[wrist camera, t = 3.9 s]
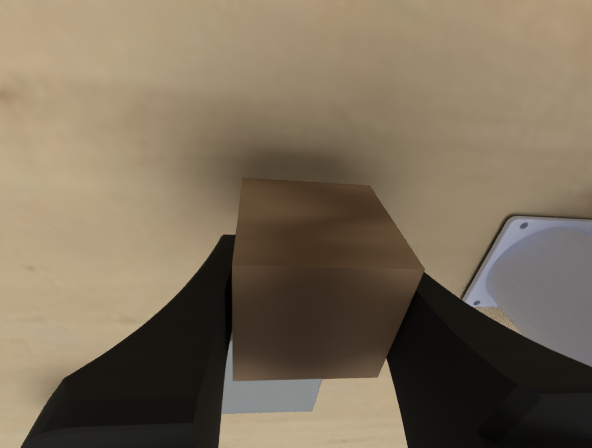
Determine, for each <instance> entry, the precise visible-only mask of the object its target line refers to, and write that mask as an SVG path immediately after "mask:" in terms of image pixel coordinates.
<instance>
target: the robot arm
mask: <svg viewBox="0 0 592 448" xmlns="http://www.w3.org/2000/svg"><path fill="white" fill-rule="evenodd" d="M521 224H522V225H521ZM235 237H236V235H223V236H221V238H220V240H219V241H218V243H217V245H216V246H215V248H214V250H213V251H212V253H211V254H210V255H209V257H208V258H207V260H206V261H205V262H204V264H203V265H202V266H201V268H200V269H199V270H198V271H197V273H196V274H195V275H194V276H193V277H192V278H191V280H190V281H189V282H188V283H187V284H186V285H185V286H184V288H183V289H182V290H181V291H180V292H179V293H178V294H177V295H176V296H175V297H174V298H173V299H172V300H171V301H170V302H169V303H168V304H167V305H166V306H165V307H163V308H162V309H161V310H160V311H159V312H158V313H157V314H155V315H154V316H153V317H152V318H151V319H150V320H149V321H147V322H146V323H145V324H144V325H143V326H141V327H140V328H139V329H137V330H136V331H135V332H133V333H132V334H131V335H129V336H128V337H127V338H125V339H124V340H123V341H121V342H120V343H118V344H117V345H116V346H114V347H113V348H112V349H110V350H109V351H107V352H106V353H104V354H103V355H101V356H100V357H98V358H96V359H95V360H93V361H92V362H90V363H88V364H87V365H85V366H84V367H82V368H80V369H79V370H77V371H76V372H74V373H72V374H71V375H69V376H67V377H65V378H64V379H63V380H62V382H61V383H60V385H59V386H58V388H57V389H56V390H55V392H54V393H53V394H52V396H51V397H50V399H49V400H48V402H47V403H46V405H45V406H44V408H43V410H42V411H41V413H40V415H39V416H38V418H37V420H36V422H35V423H34V425H33V427H32V429H31V430H30V432H29V434H28V436H27V437H26V439H25V441H24V442H23V444H22V446H21V448H218V445H219V433H220V422H221V412H222V401H223V390H224V380H225V370H226V362H227V356H228V350H229V345H230V340H231V335H232V261H233V253H234V245H235ZM473 307H499V308H500V309H501V310H502V311H503V313H504V314H505V315H506V316H507V317H508V319H509V320H510V321H511V322H512V323H513V325H514V326H515V327H516V328H517V330H518V331H519V332H520V333H521V334H522V335H520V334H518V333H517V332H515V331H513V330H511V329H509V328H507V327H505V326H504V325H502V324H500V323H498V322H496V321H495V320H493V319H491V318H489V317H488V316H486V315H484V314H483V313H481V312H479V311H478V310H476V309H475V308H473ZM386 359H387V362H388V365H389V368H390V372H391V376H392V380H393V384H394V387H395V391H396V396H397V400H398V404H399V408H400V412H401V417H402V421H403V426H404V431H405V436H406V440H407V445H408V448H592V220H586V219H567V218H548V217H528V216H513V217H511V218H510V219H508V220H507V222H506V223H505V225H504V227H503V229H502V230H501V232H500V234H499V236H498V237H497V239H496V241H495V243H494V245H493V246H492V248H491V250H490V252H489V253H488V255H487V257H486V259H485V260H484V262H483V264H482V266H481V267H480V269H479V271H478V273H477V274H476V276H475V278H474V280H473V281H472V283H471V285H470V287H469V288H468V290H467V292H466V294H465V295H464V297H463V299H462V300H461V299H459V298H458V297H457V296H455V295H454V294H452V293H451V292H450V291H448V290H447V289H446V288H444V287H443V286H442V285H440V284H439V283H438V282H436V281H435V280H434V279H432V278H431V277H430V276H429V275H427V274H426V273H425V272H424V273H423V275H422V277H421V280H420V282H419V284H418V286H417V289H416V291H415V293H414V295H413V298H412V300H411V302H410V305H409V307H408V309H407V311H406V314H405V316H404V318H403V321H402V323H401V325H400V327H399V330H398V332H397V334H396V336H395V339H394V341H393V343H392V346H391V348H390V350H389V352H388V355H387V357H386Z"/></svg>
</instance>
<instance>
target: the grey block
mask: <svg viewBox="0 0 592 448" xmlns="http://www.w3.org/2000/svg"><path fill="white" fill-rule="evenodd" d="M321 382H322V379H300V380H264V381H233V362H232V335H231V340H230V345H229V350H228V356H227V362H226V370H225V380H224V390H223V401H222V412H221V414H234V413H269V412H305V411H312V410H313V407H314V404H315V401H316V398H317V395H318V391H319V388H320V385H321Z"/></svg>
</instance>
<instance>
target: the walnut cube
mask: <svg viewBox="0 0 592 448" xmlns="http://www.w3.org/2000/svg"><path fill="white" fill-rule="evenodd" d="M424 270H425V269H424V267H423V266H422V264H421V263H420V261H419V260H418V258H417V257H416V255H415V254H414V252H413V251H412V249H411V248H410V246H409V245H408V243H407V242H406V240H405V238H404V237H403V235H402V234H401V232H400V231H399V229H398V228H397V226H396V225H395V223H394V222H393V220H392V219H391V217H390V216H389V214H388V213H387V211H386V210H385V208H384V207H383V205H382V204H381V202H380V201H379V199H378V197H377V196H376V194H375V193H374V191H373V190H372V188H371V187H370V186H366V185H349V184H332V183H316V182H299V181H283V180H266V179H250V178H243V182H242V190H241V198H240V205H239V213H238V221H237V229H236V237H235V245H234V253H233V261H232V362H233V381H264V380H300V379H336V378H373V377H378V375H379V373H380V371H381V368H382V366H383V364H384V361H385V359H386V357H387V355H388V352H389V350H390V348H391V346H392V343H393V341H394V339H395V336H396V334H397V332H398V330H399V327H400V325H401V323H402V321H403V318H404V316H405V314H406V311H407V309H408V307H409V305H410V302H411V300H412V298H413V295H414V293H415V291H416V289H417V286H418V284H419V282H420V280H421V277H422V275H423V273H424Z"/></svg>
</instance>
